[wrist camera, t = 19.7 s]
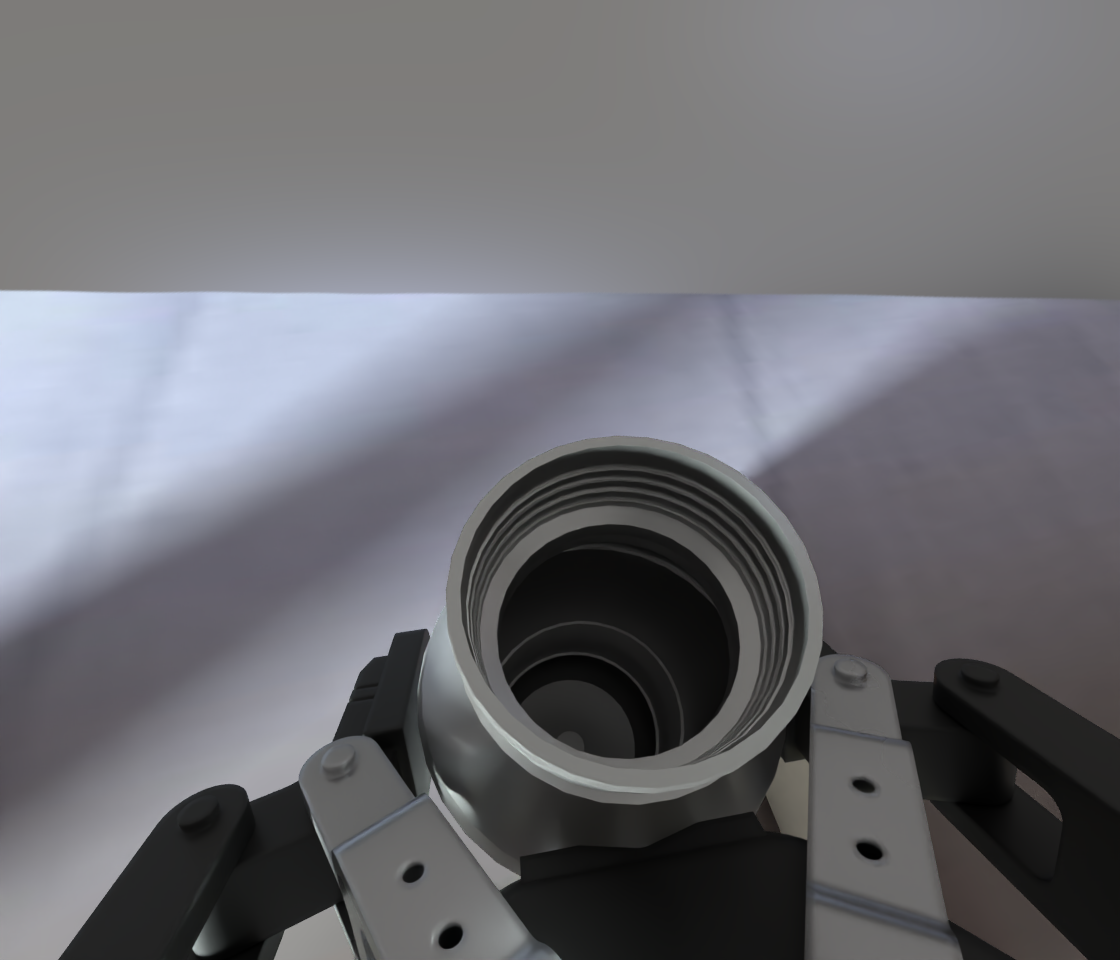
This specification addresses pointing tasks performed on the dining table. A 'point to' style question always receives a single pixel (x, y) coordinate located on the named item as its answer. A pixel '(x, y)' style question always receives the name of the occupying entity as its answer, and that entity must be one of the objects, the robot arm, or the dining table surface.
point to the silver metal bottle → (616, 650)
